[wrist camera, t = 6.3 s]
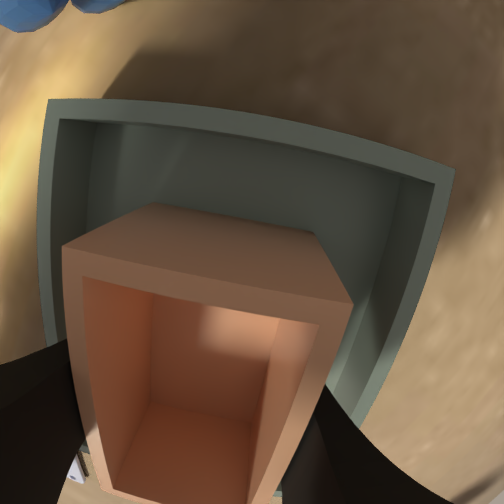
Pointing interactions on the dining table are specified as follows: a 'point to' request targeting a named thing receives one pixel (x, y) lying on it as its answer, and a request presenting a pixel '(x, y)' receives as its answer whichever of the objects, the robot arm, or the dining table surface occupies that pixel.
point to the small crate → (198, 350)
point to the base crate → (252, 206)
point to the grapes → (45, 11)
